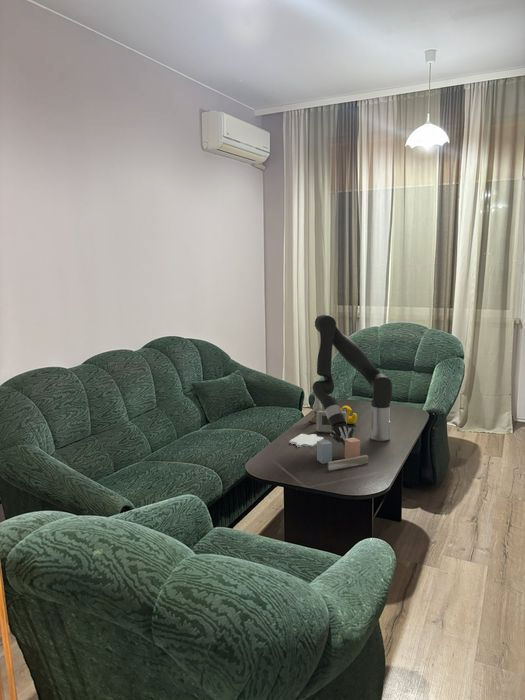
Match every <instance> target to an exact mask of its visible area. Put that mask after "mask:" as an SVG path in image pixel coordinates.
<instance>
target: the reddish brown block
mask: <svg viewBox="0 0 525 700" xmlns="http://www.w3.org/2000/svg"><path fill="white" fill-rule="evenodd" d="M358 456H361V440H360V439H358V438H356V437H352V438H348V439H345V448H344V459H348V458H353V457H358Z"/></svg>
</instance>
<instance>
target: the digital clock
mask: <svg viewBox="0 0 525 700" xmlns="http://www.w3.org/2000/svg"><path fill="white" fill-rule="evenodd" d="M342 414H343V416H344V418H345V421H346V424H347V413H346V412H342ZM315 424H316V432H320V433H321V432H322V433H331V432H332V428H331V426H330V423H329V421H328V418H327V416H326V412H325V410H321V411H317V423H315ZM347 425H348V424H347Z"/></svg>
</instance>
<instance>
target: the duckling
mask: <svg viewBox="0 0 525 700" xmlns="http://www.w3.org/2000/svg"><path fill="white" fill-rule="evenodd" d="M340 409H341V411H342V412H346V413H347V425H350V424H351V425H352V424H355V423H356V422H357V421H358V414H357V413H355V412H353V410H352V408H351V407H350V406H349V405H343V406H342V407H340ZM352 412H353V413H352ZM351 413H352V415H351V416H350V414H351Z"/></svg>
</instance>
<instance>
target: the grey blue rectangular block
mask: <svg viewBox="0 0 525 700" xmlns="http://www.w3.org/2000/svg"><path fill="white" fill-rule="evenodd" d="M316 460H317V462H319V463H321V464H322V465H323V464H328V462H332V461H333V443H332V442H331V441H330V440H328V439H324V440H321V441H317V445H316Z"/></svg>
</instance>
